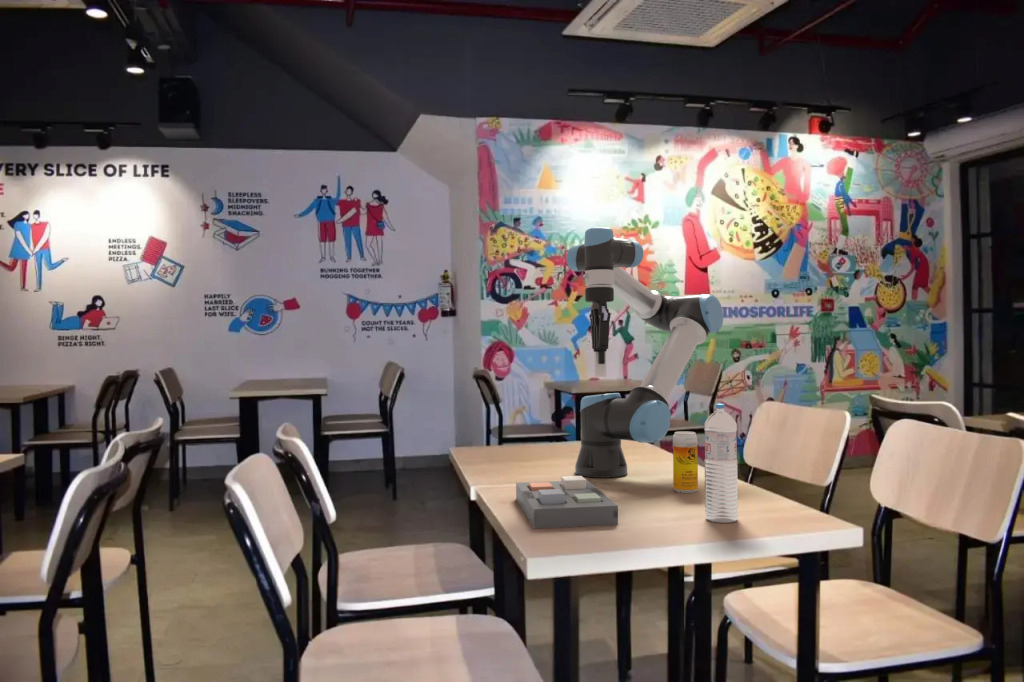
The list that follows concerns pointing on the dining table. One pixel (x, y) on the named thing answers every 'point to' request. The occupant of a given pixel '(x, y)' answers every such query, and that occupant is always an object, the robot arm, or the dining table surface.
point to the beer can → (685, 462)
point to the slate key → (551, 496)
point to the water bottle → (721, 467)
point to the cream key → (573, 482)
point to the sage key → (586, 498)
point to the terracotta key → (540, 486)
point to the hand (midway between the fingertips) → (600, 376)
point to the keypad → (566, 508)
